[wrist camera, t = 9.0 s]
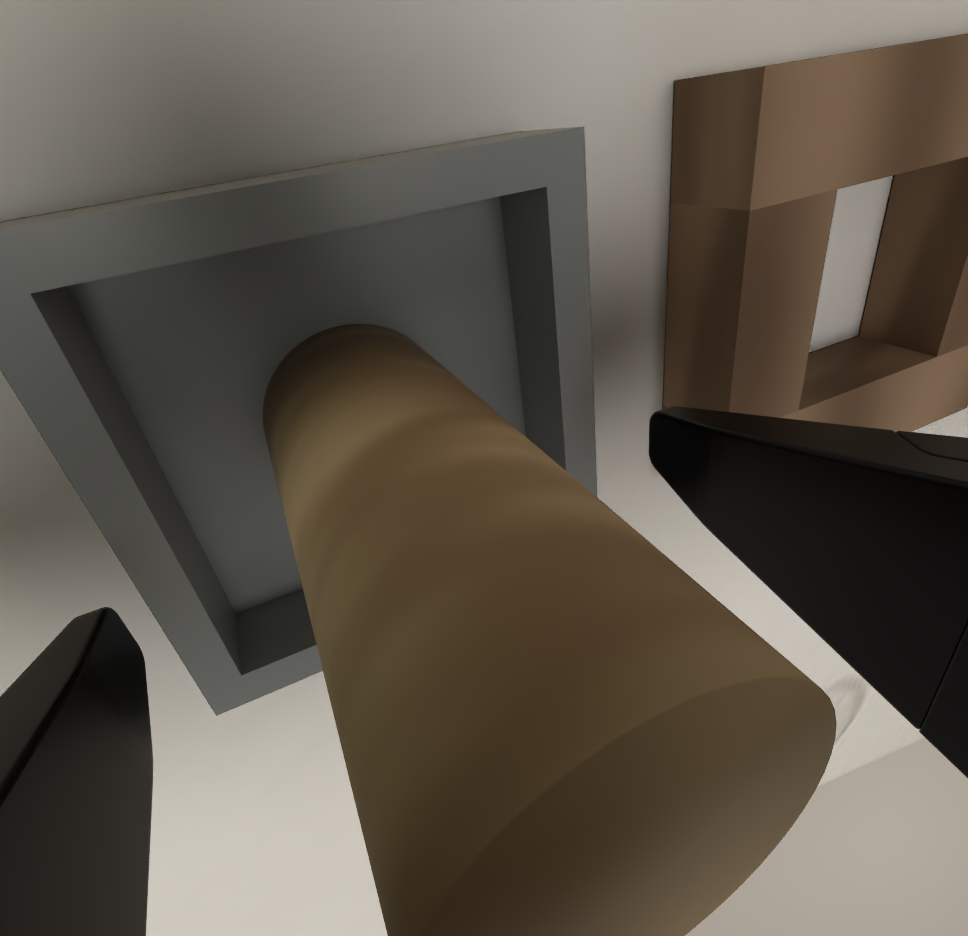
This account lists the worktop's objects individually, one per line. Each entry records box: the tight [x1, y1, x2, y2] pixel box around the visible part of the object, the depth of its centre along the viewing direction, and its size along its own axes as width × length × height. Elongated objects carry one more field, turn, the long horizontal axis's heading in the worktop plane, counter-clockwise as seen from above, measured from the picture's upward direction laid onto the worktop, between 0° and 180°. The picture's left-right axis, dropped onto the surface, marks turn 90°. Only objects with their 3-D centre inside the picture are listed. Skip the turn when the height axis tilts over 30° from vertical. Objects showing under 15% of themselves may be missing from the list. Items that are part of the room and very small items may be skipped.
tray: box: [0, 127, 597, 716], centre depth 12 cm, size 10×10×2 cm
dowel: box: [263, 324, 836, 936], centre depth 9 cm, size 4×4×10 cm
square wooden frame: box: [663, 34, 968, 432], centre depth 16 cm, size 10×10×2 cm
